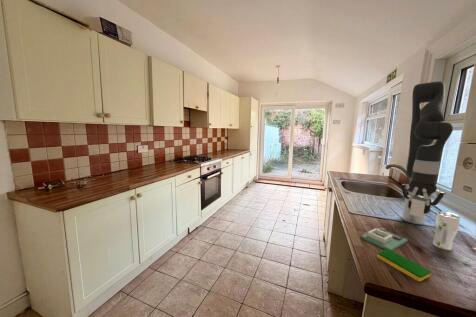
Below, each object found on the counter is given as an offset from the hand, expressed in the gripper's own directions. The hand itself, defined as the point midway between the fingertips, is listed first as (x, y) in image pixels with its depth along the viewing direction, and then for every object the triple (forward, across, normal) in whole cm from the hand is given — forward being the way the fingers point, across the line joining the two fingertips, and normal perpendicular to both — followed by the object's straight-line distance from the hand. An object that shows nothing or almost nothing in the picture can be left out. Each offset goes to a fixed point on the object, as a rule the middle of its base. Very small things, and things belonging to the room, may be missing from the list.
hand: (418, 211), depth 81 cm
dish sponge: (+18, -3, +17) cm, 25 cm away
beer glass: (+17, -6, -14) cm, 23 cm away
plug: (+2, 0, 0) cm, 2 cm away
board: (+17, +9, +3) cm, 20 cm away
